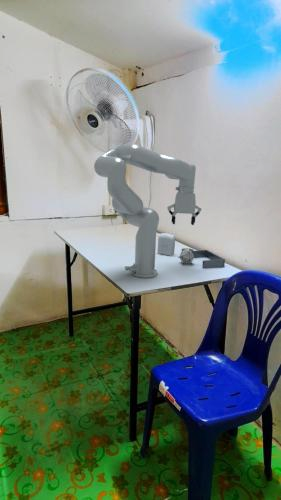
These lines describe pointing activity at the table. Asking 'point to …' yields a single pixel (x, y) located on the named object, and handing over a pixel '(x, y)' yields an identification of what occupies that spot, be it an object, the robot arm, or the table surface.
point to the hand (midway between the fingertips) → (182, 224)
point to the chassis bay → (214, 259)
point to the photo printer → (166, 244)
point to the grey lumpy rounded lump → (186, 256)
